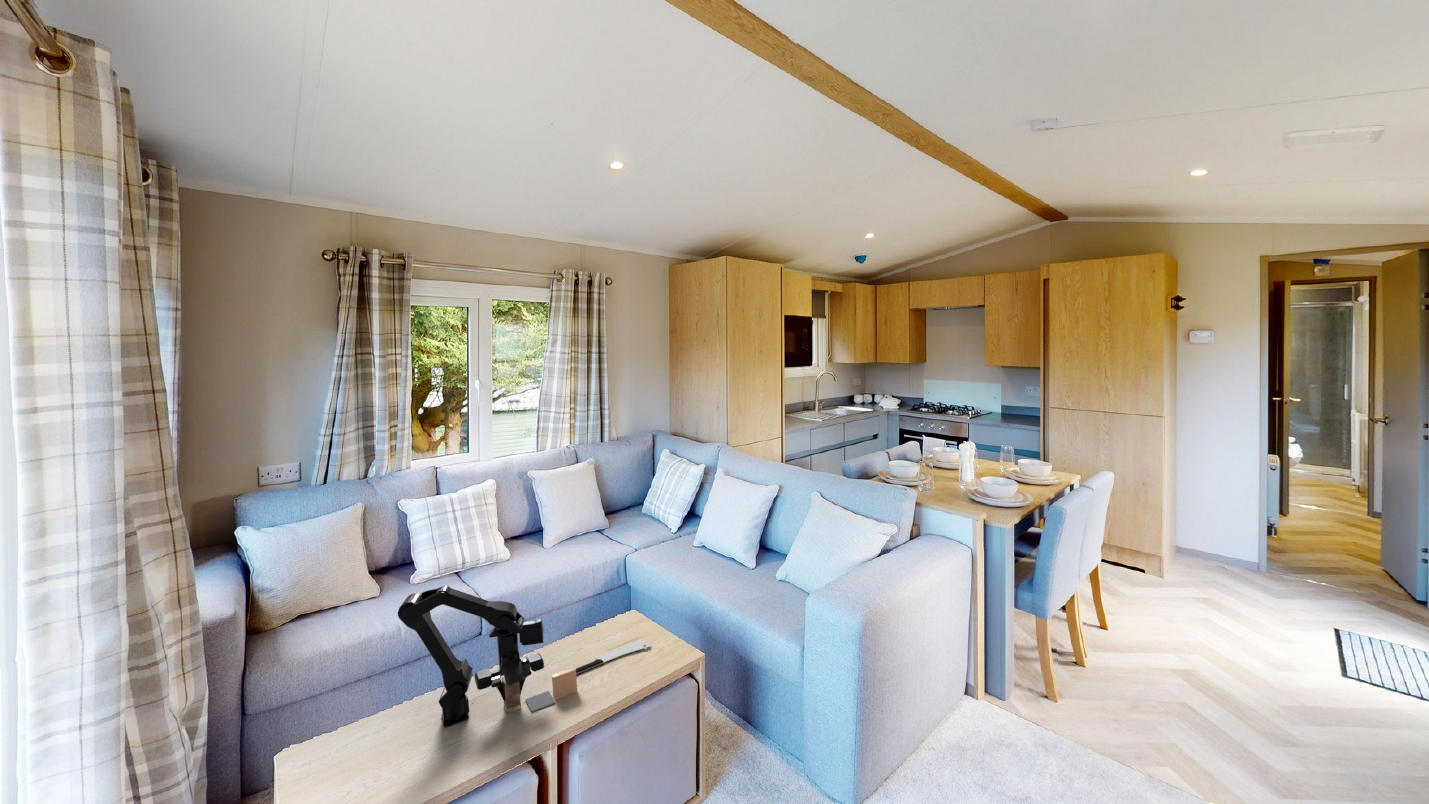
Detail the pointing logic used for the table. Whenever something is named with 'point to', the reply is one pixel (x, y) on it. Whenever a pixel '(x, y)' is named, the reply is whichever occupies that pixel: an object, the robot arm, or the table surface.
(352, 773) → the table surface
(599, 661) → the kitchen cleaver
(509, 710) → the wooden post stub
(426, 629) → the robot arm
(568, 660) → the table surface
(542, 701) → the pad
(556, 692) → the tile
